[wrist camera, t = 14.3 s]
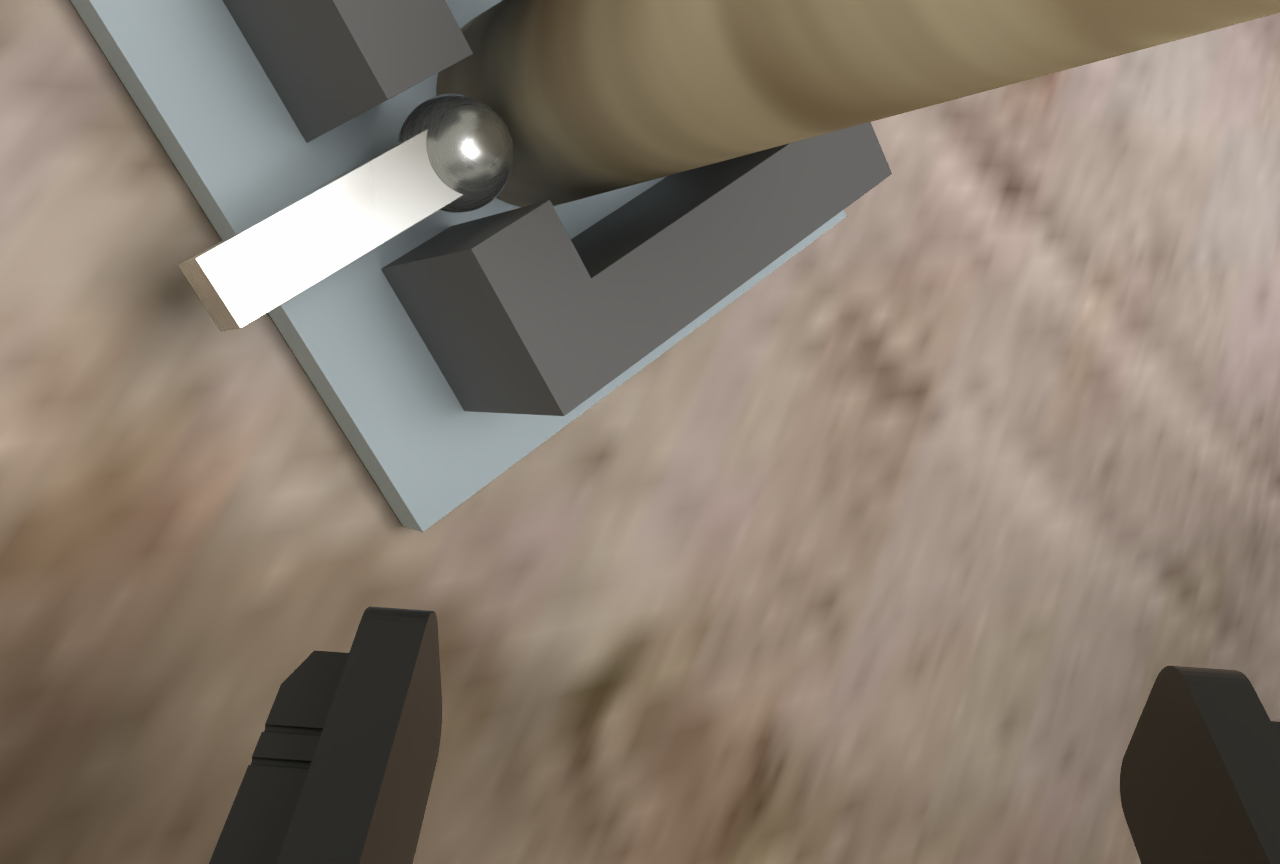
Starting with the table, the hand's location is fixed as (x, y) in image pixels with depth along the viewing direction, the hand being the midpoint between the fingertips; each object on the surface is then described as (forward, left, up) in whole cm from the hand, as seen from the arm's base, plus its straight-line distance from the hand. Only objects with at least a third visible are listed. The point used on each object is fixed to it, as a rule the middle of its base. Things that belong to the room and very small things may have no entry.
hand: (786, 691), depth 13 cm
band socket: (-7, -6, -12) cm, 16 cm away
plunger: (-2, -6, -10) cm, 12 cm away
